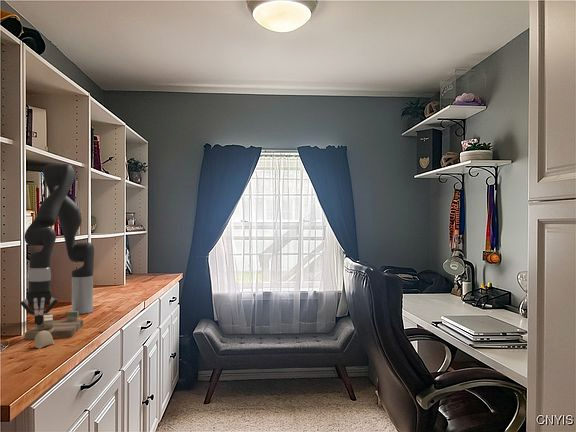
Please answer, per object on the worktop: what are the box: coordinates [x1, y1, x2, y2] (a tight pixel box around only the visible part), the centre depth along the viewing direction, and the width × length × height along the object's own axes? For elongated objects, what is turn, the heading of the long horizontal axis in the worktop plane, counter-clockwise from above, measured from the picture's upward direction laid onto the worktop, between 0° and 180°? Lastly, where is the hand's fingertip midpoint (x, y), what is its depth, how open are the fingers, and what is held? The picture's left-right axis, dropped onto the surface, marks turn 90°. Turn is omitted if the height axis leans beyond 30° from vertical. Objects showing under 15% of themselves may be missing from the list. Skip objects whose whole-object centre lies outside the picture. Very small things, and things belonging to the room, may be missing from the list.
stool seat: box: [24, 310, 84, 341], centre depth 178 cm, size 20×16×6 cm
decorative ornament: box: [33, 328, 56, 350], centre depth 159 cm, size 4×8×5 cm, turn 160°
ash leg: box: [43, 312, 54, 329], centre depth 178 cm, size 14×3×3 cm, turn 28°
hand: (38, 324), depth 173 cm, fingers closed
